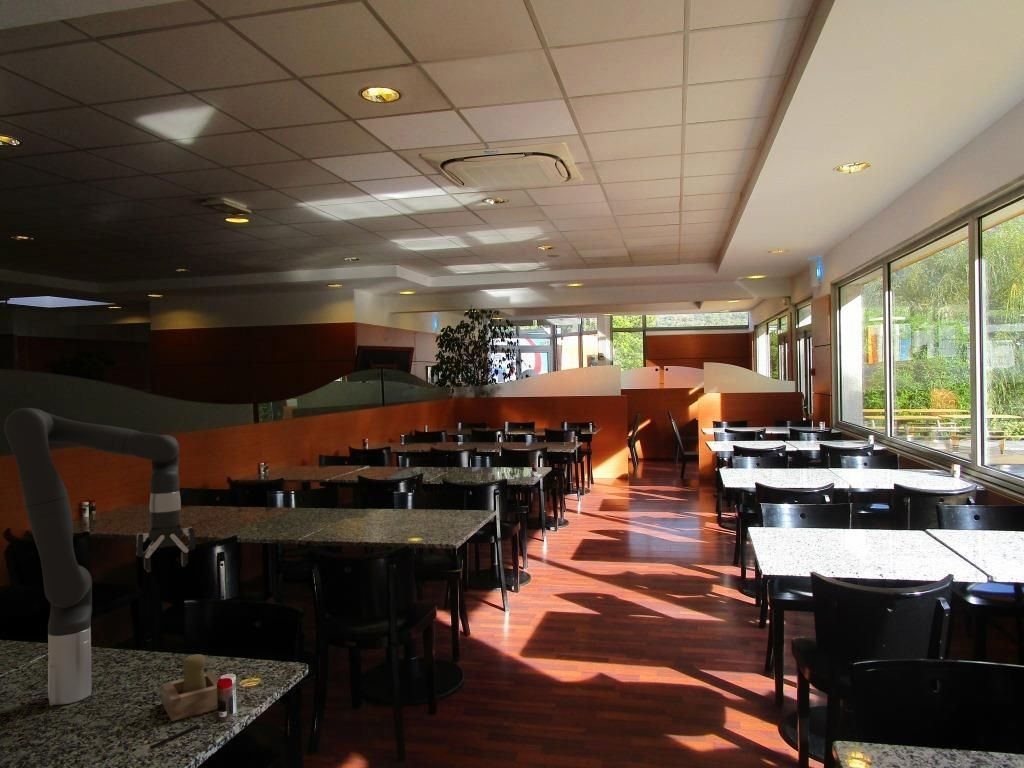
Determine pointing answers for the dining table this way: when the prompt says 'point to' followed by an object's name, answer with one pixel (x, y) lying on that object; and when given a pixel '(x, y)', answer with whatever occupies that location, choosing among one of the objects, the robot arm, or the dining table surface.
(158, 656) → the dining table surface
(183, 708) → the wooden box
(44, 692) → the dining table surface
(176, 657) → the dining table surface
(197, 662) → the cork
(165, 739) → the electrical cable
